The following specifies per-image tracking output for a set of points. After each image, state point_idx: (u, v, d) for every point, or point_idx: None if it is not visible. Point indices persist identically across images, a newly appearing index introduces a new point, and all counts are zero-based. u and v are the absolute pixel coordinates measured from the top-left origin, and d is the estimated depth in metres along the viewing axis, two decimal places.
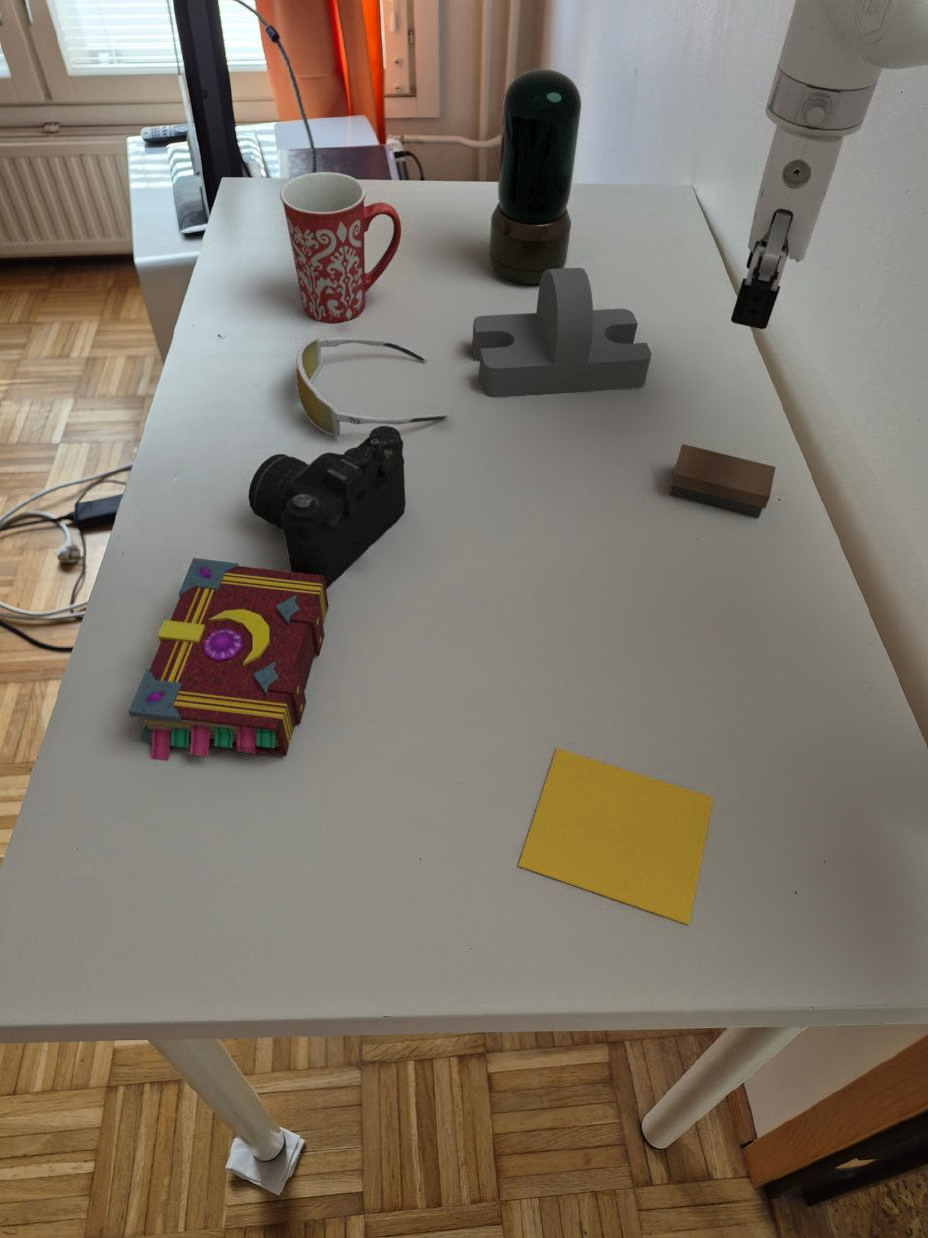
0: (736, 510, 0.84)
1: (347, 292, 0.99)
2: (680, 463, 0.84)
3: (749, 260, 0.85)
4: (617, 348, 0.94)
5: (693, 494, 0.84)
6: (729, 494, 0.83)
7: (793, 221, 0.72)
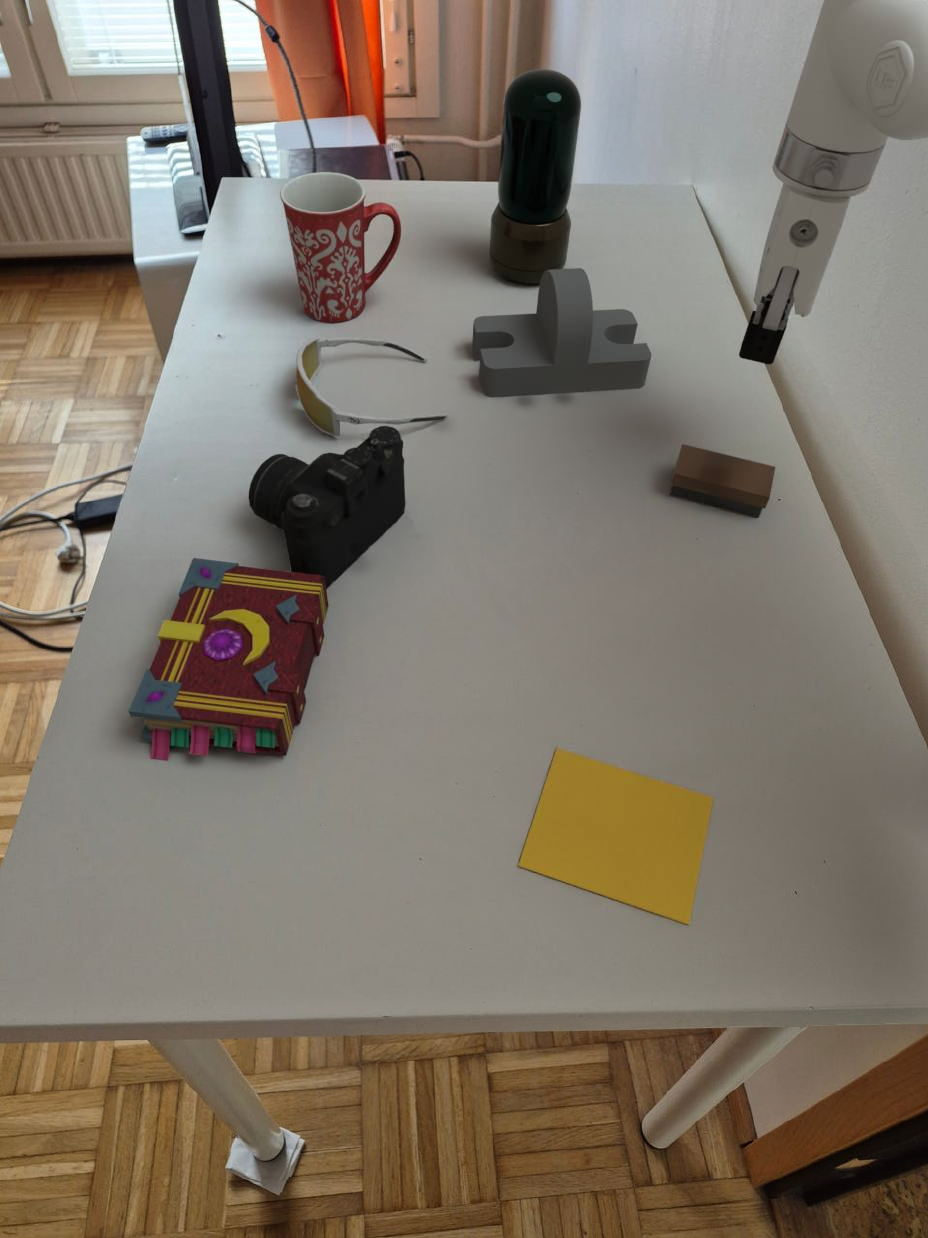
0: (736, 510, 0.84)
1: (347, 292, 0.99)
2: (680, 463, 0.84)
3: None
4: (617, 349, 0.94)
5: (693, 494, 0.84)
6: (729, 494, 0.83)
7: (799, 278, 0.71)
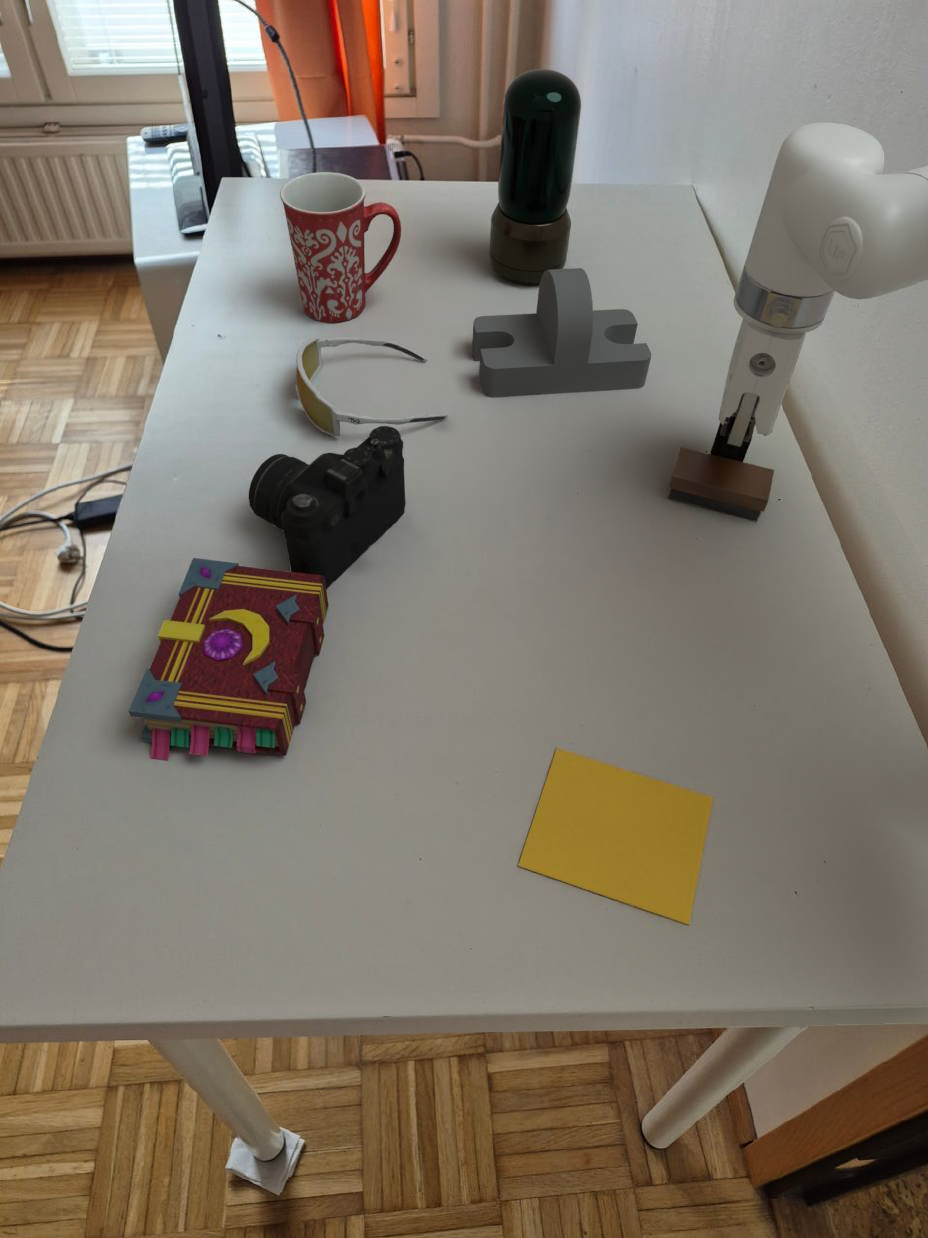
0: (734, 513, 0.84)
1: (347, 292, 0.99)
2: (678, 466, 0.84)
3: None
4: (617, 349, 0.94)
5: (691, 497, 0.84)
6: (727, 497, 0.82)
7: (760, 403, 0.76)
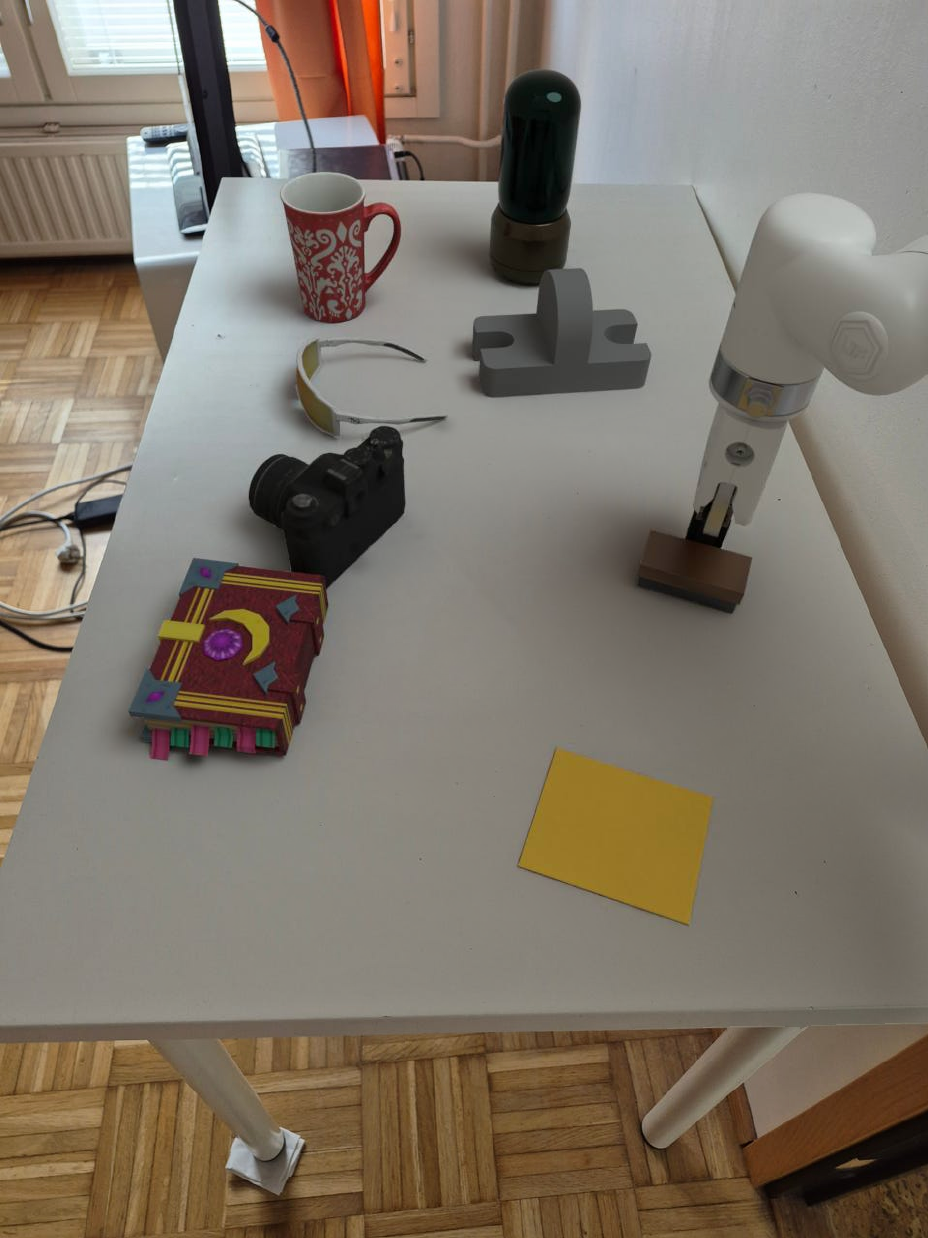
0: (708, 604, 0.77)
1: (347, 292, 0.99)
2: (647, 552, 0.77)
3: None
4: (617, 349, 0.94)
5: (661, 586, 0.77)
6: (700, 588, 0.75)
7: (738, 494, 0.68)
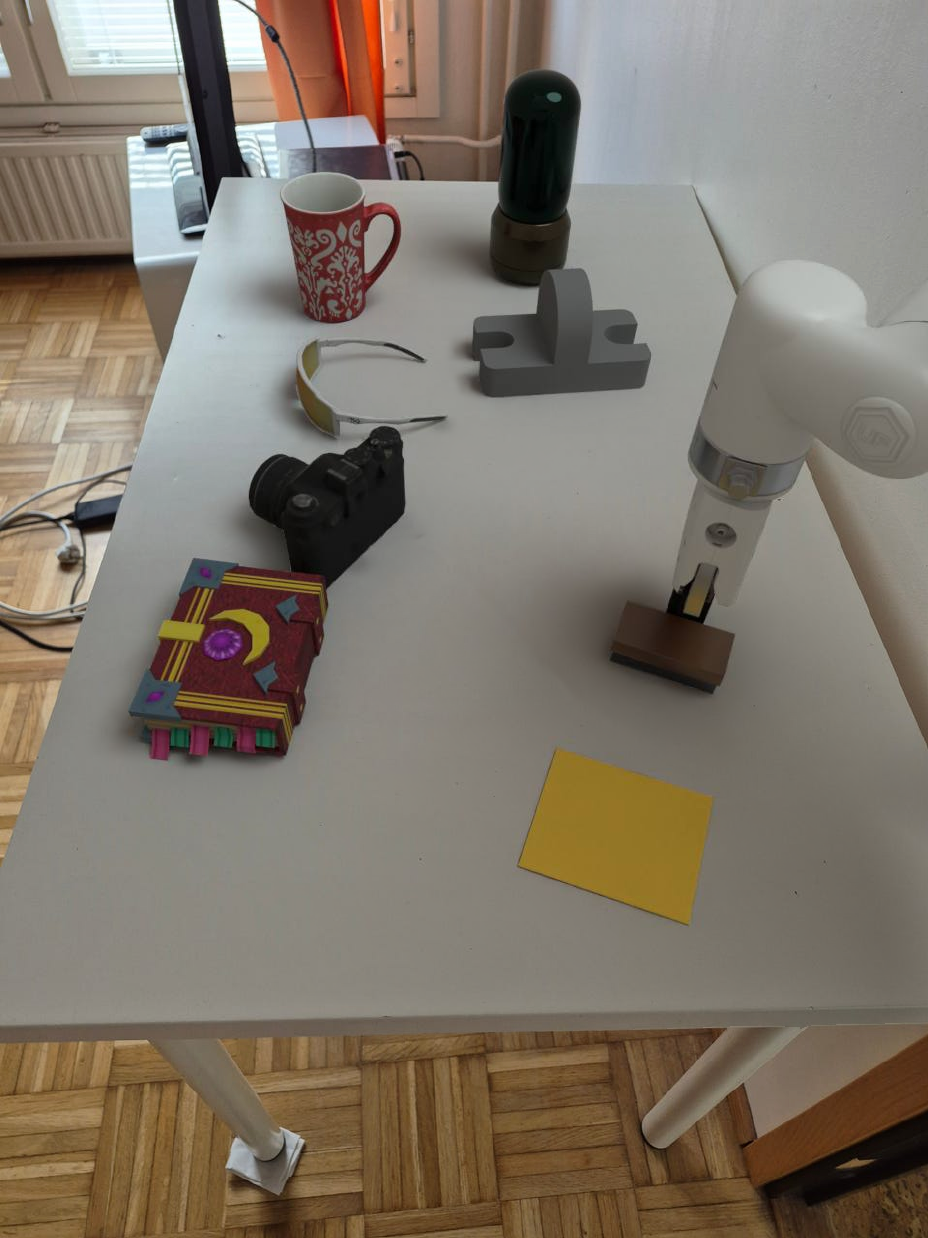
0: (687, 684, 0.71)
1: (347, 292, 0.99)
2: (621, 626, 0.71)
3: None
4: (617, 349, 0.94)
5: (636, 662, 0.72)
6: (678, 668, 0.70)
7: (719, 575, 0.63)
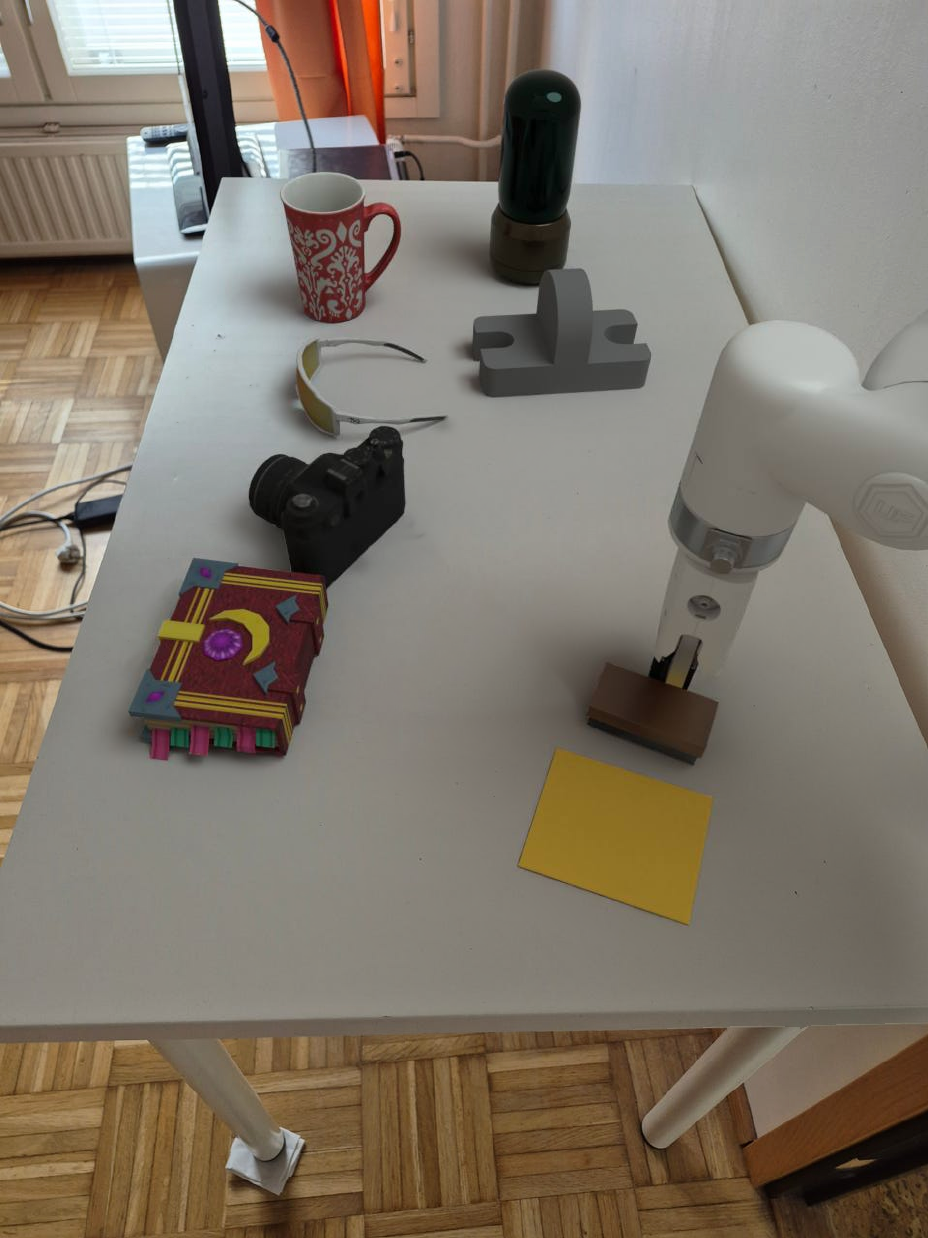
0: (667, 753, 0.67)
1: (347, 292, 0.99)
2: (599, 691, 0.67)
3: None
4: (617, 349, 0.94)
5: (614, 729, 0.68)
6: (656, 737, 0.66)
7: (703, 648, 0.59)
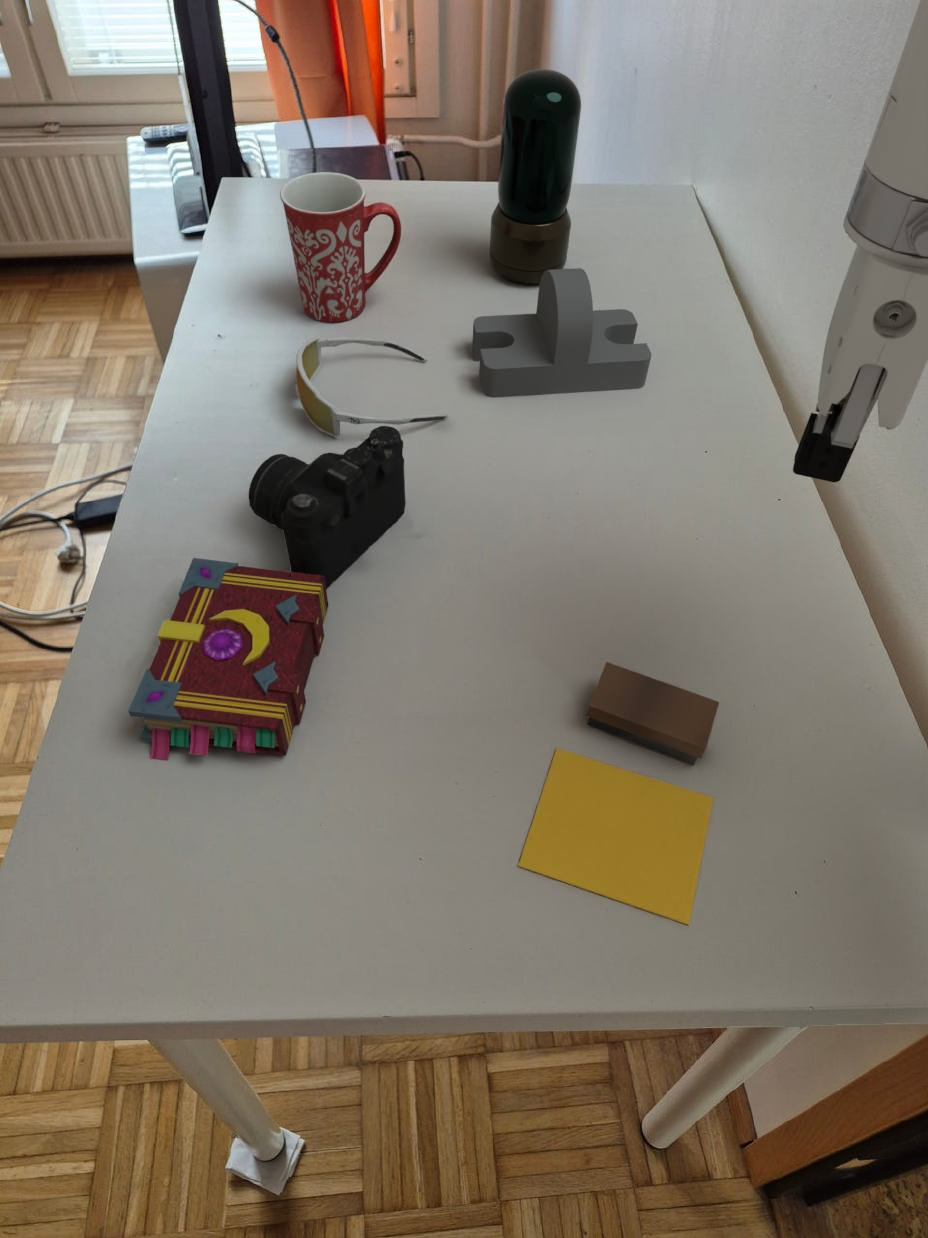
0: (667, 753, 0.67)
1: (347, 292, 0.99)
2: (599, 691, 0.67)
3: None
4: (617, 349, 0.94)
5: (614, 729, 0.68)
6: (656, 737, 0.66)
7: (887, 380, 0.50)
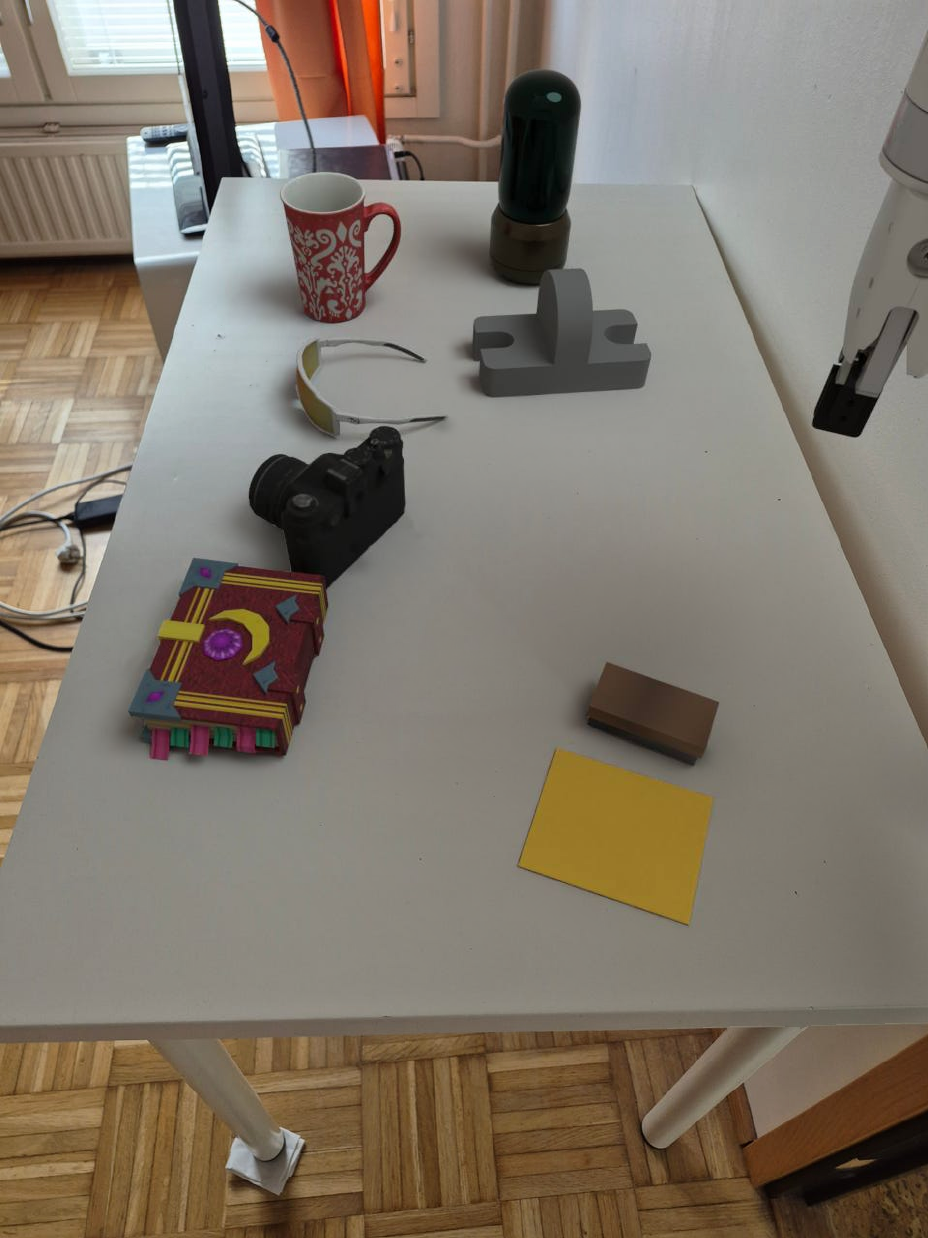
0: (667, 753, 0.67)
1: (347, 292, 0.99)
2: (599, 691, 0.67)
3: None
4: (617, 349, 0.94)
5: (614, 729, 0.68)
6: (656, 737, 0.66)
7: (918, 325, 0.48)
